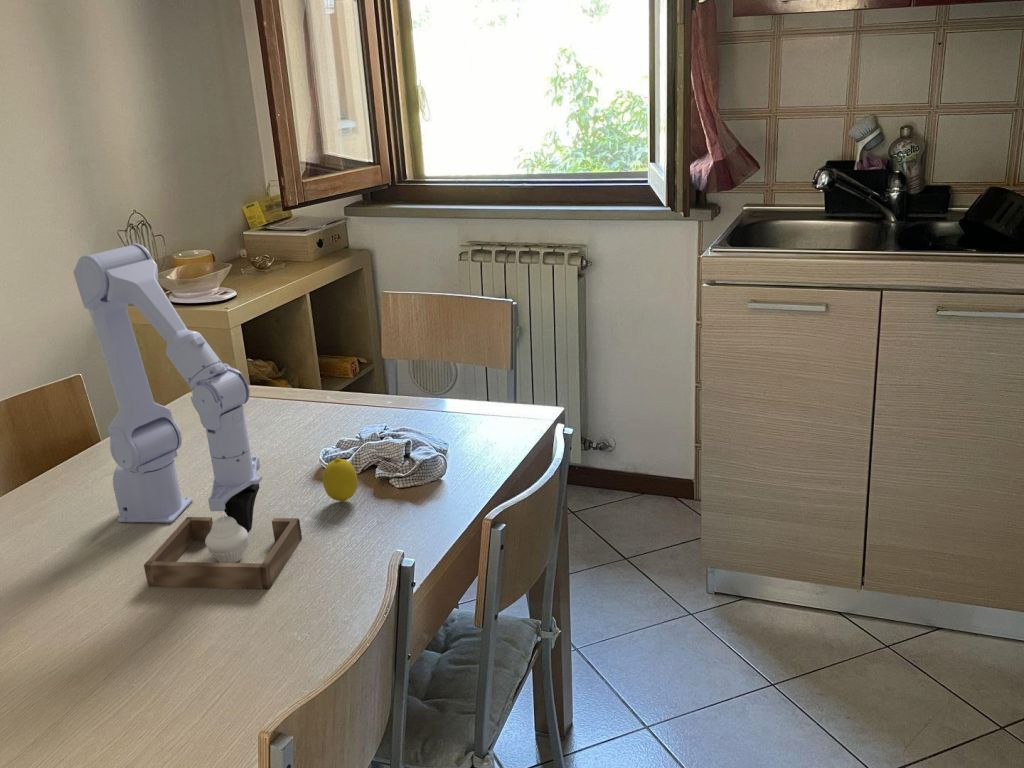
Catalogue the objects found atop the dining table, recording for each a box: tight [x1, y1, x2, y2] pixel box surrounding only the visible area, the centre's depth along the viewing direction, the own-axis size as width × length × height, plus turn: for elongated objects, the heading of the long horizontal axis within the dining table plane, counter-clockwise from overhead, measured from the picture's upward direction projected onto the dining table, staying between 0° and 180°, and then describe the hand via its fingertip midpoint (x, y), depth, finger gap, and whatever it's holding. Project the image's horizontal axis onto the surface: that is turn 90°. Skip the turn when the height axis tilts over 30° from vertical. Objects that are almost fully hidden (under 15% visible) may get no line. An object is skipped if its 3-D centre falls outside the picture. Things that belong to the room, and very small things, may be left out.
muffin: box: [204, 515, 249, 563], centre depth 138 cm, size 6×6×7 cm
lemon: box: [322, 457, 358, 504], centre depth 153 cm, size 6×6×8 cm
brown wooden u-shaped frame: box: [143, 516, 303, 590], centre depth 138 cm, size 18×14×4 cm
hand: (243, 530), depth 144 cm, fingers closed
